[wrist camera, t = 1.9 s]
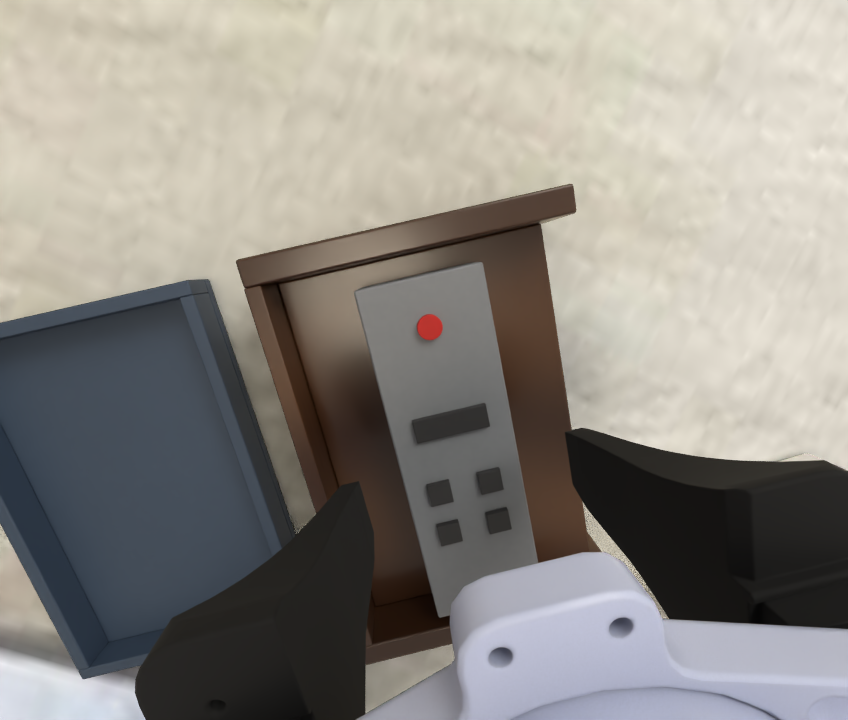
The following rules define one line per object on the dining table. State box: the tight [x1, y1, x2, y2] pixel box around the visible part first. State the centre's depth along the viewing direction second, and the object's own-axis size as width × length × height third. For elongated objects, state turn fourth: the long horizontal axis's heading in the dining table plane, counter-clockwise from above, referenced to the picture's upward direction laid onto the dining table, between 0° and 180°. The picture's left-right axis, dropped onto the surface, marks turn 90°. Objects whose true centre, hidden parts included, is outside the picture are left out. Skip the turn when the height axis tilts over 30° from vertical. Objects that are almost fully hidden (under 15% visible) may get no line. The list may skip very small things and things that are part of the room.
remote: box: [354, 262, 538, 618], centre depth 17 cm, size 14×5×3 cm, turn 13°
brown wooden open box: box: [236, 184, 602, 665], centre depth 18 cm, size 18×12×5 cm
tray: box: [0, 279, 296, 679], centre depth 20 cm, size 18×12×2 cm, turn 13°
